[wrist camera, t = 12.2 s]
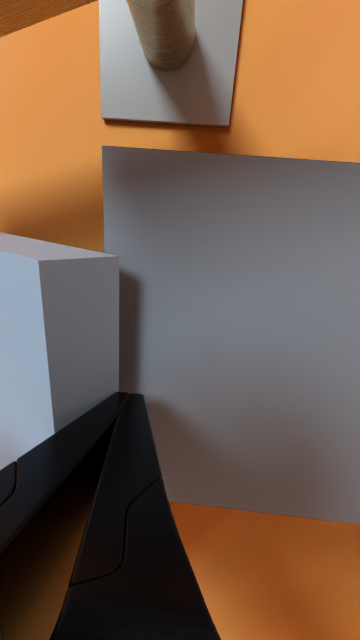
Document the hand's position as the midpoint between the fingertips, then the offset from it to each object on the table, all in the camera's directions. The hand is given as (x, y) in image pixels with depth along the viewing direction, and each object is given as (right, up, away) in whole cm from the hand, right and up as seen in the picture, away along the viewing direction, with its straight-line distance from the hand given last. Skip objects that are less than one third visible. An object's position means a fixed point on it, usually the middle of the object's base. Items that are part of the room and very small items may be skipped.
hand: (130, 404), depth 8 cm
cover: (-4, +1, +3) cm, 5 cm away
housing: (+5, +5, +3) cm, 8 cm away
